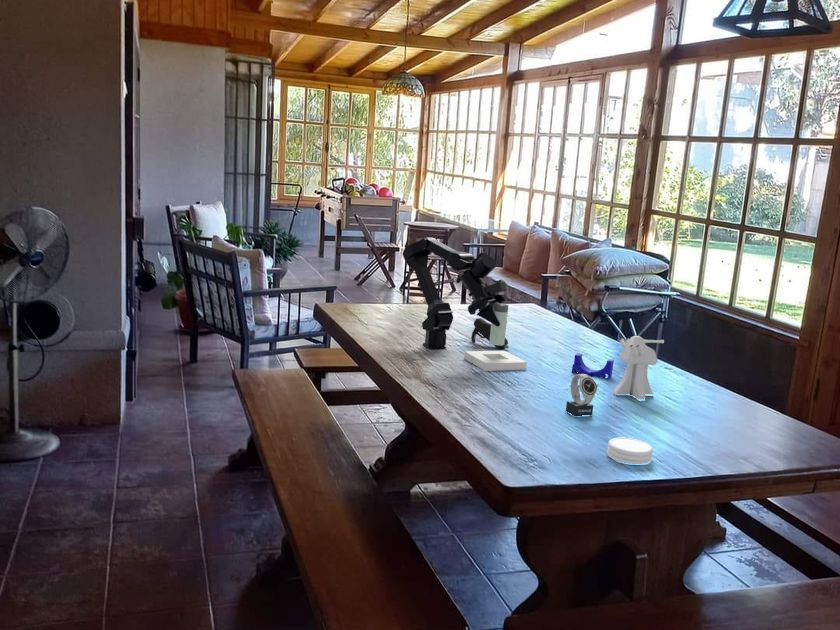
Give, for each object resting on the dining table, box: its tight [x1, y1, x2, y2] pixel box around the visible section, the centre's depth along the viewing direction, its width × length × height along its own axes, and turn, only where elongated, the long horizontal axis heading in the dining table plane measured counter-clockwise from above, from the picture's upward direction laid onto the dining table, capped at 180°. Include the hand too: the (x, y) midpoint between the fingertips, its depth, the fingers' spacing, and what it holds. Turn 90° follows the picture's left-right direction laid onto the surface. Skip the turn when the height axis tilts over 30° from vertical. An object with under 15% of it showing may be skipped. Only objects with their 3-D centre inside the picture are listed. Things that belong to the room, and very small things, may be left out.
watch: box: [565, 374, 598, 416], centre depth 206 cm, size 6×8×11 cm
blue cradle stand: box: [571, 353, 615, 380], centre depth 250 cm, size 12×4×6 cm, turn 63°
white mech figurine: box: [612, 335, 665, 399], centre depth 229 cm, size 12×13×18 cm
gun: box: [470, 317, 510, 351], centre depth 280 cm, size 3×16×10 cm, turn 53°
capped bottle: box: [488, 303, 509, 346], centre depth 251 cm, size 5×5×13 cm
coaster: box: [606, 437, 654, 464], centre depth 177 cm, size 10×10×4 cm
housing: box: [463, 350, 528, 372], centre depth 254 cm, size 15×15×2 cm
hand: (502, 324), depth 251 cm, fingers closed on capped bottle, 5 cm apart
